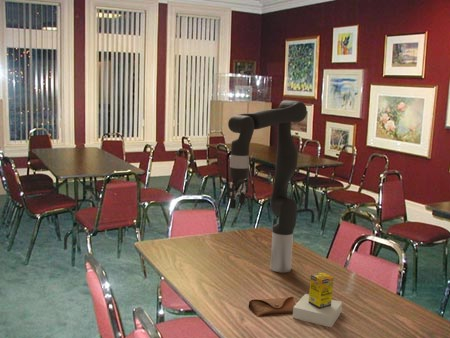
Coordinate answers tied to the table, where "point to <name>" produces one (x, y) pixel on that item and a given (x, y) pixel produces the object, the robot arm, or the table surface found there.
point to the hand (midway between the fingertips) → (237, 206)
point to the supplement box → (321, 290)
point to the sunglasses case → (272, 306)
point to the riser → (317, 312)
